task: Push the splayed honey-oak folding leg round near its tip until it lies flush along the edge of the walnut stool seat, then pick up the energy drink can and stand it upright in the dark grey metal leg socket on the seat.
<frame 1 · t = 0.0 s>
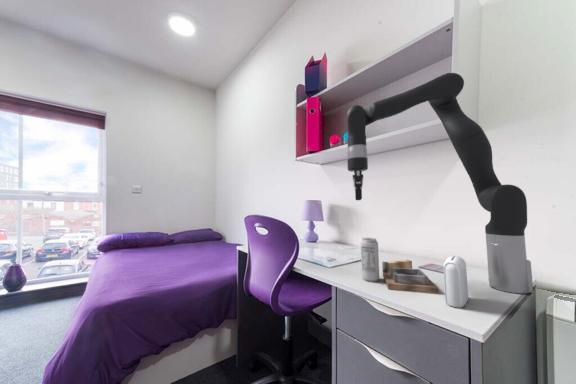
hand: (358, 199, 87), 29 cm above the table, tool pointing down, fingers open, 8 cm apart
energy drink can: (370, 280, 82), on the table
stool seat: (408, 285, 76), on the table
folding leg: (396, 268, 87), point 3 cm above the table, hinge at 35.0°
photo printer: (457, 302, 62), on the table
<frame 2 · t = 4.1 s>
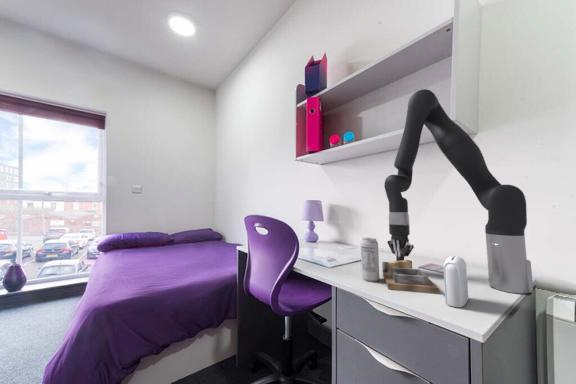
hand: (400, 266, 92), 2 cm above the table, tool pointing down, fingers closed
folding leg: (397, 268, 87), point 3 cm above the table, hinge at 34.6°, touching gripper
everything else where it was.
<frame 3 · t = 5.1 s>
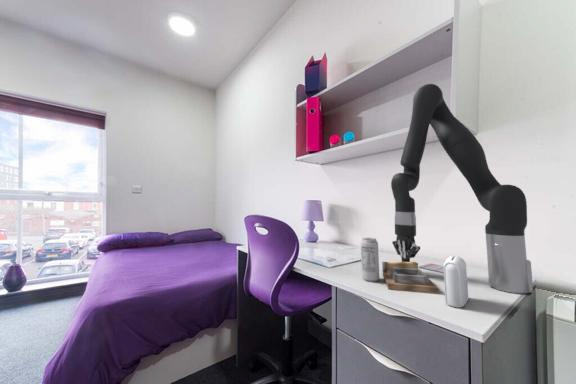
hand: (405, 267, 89), 3 cm above the table, tool pointing down, fingers closed
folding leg: (399, 269, 86), point 3 cm above the table, hinge at 18.0°, touching gripper
everything else where it was.
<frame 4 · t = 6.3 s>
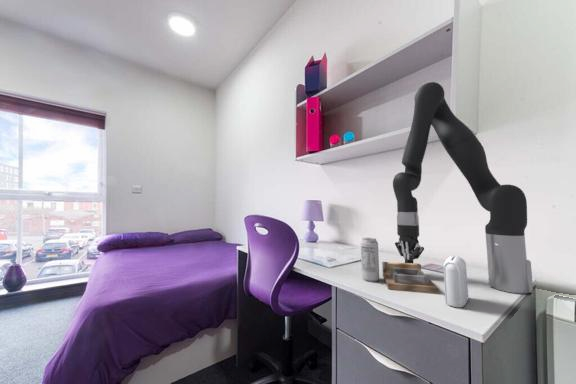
hand: (409, 269, 87), 3 cm above the table, tool pointing down, fingers closed
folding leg: (401, 270, 84), point 3 cm above the table, hinge at 4.4°
everything else where it was.
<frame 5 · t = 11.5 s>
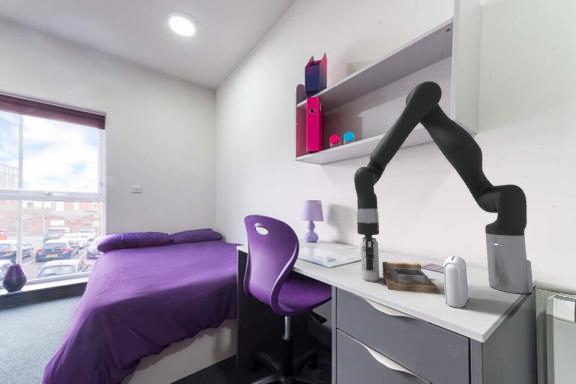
hand: (369, 267, 82), 4 cm above the table, tool pointing down, fingers closed on energy drink can, 6 cm apart
energy drink can: (370, 280, 82), on the table, touching gripper
everything else where it was.
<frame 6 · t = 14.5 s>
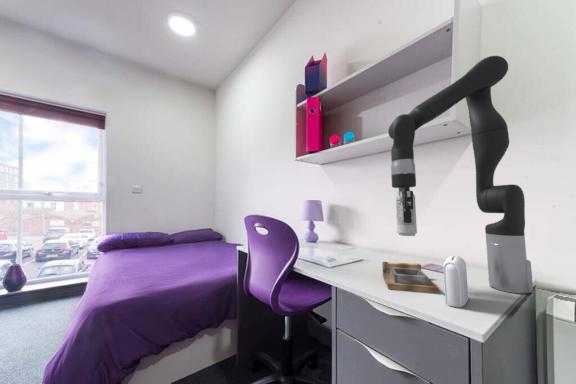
hand: (405, 222, 77), 21 cm above the table, tool pointing down, fingers closed on energy drink can, 6 cm apart
energy drink can: (407, 235, 77), point 17 cm above the table, touching gripper
everything else where it was.
when the fingers open (8 cm above the table, at t = 17.4 s): energy drink can drops 1 cm, resting on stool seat.
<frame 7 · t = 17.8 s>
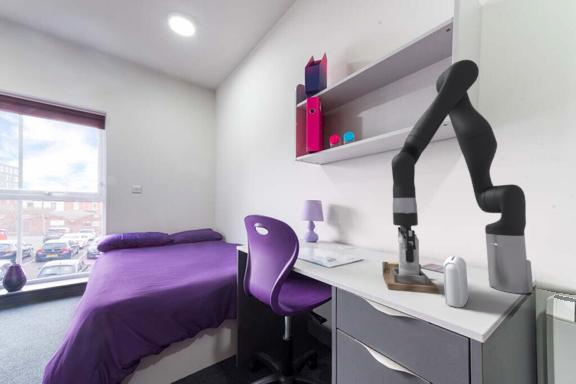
hand: (406, 259, 76), 9 cm above the table, tool pointing down, fingers open, 8 cm apart
energy drink can: (408, 279, 76), point 2 cm above the table, touching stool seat
everything else where it was.
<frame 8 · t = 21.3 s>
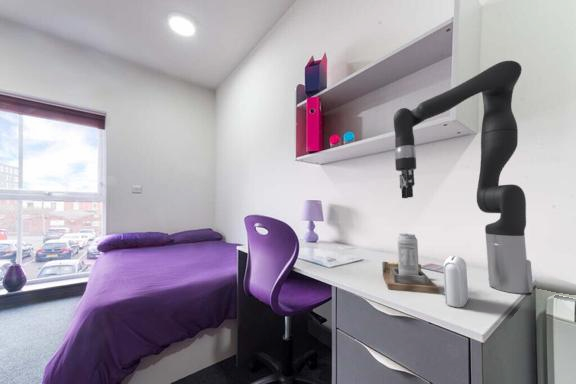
hand: (407, 197, 91), 30 cm above the table, tool pointing down, fingers open, 8 cm apart
nothing on the table moved.
at the end: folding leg at +4° (first picture: +35°); energy drink can 0.3 cm off-centre on the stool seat, point 1.8 cm above the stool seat's base; energy drink can tilted 0° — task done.
